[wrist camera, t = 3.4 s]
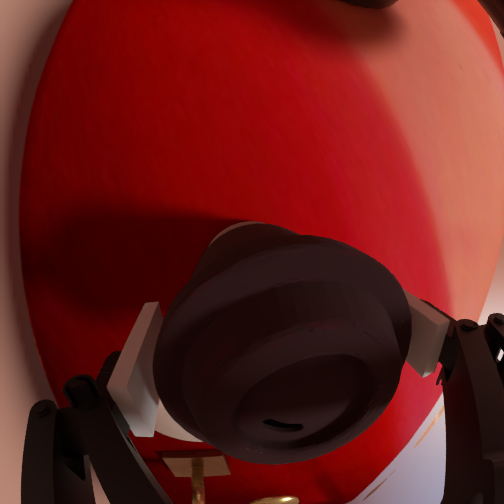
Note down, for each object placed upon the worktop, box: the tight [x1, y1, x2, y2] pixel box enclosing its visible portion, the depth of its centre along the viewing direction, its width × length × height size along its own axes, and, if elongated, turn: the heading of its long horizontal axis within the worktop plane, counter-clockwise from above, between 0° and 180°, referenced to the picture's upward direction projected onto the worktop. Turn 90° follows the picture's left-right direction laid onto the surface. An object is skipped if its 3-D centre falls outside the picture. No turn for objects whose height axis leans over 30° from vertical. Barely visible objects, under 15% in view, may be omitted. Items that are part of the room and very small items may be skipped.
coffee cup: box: [152, 221, 412, 464], centre depth 14 cm, size 10×10×15 cm
